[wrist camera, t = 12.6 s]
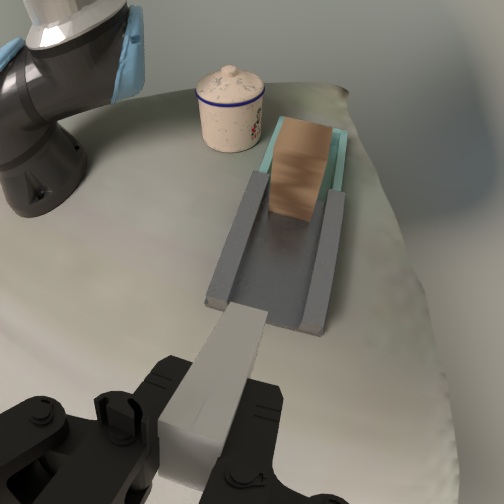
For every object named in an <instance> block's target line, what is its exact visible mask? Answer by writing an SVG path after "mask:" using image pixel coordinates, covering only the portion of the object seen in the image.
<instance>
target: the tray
mask: <svg viewBox="0 0 504 504" xmlns="http://www.w3.org/2000/svg"><path fill="white" fill-rule="evenodd" d="M284 118H285V117H284V116H280V117H279V120H278V122H277V125H276V128H275V130H274V133H273V135H272V138H271V140H270V143H269V146H268V148H267V151H266V153H265V156H264V158H263V161H262V164H261V166H260V169H259V172H262V173H267V174H270V181H269V188H270V184H271V173H272V161H273V149H274V145H275V142H276V139H277V137H278V134H279V131H280V129H281V126H282V123H283V121H284ZM288 118H289V117H288ZM293 119H294V118H293ZM302 121H303V120H302ZM311 123H312V122H311ZM315 124H316V123H315ZM328 127H329V126H328ZM332 128H333V127H332ZM347 134H348V131H344V130H340V129H336V128H333V131H332V137H331V143H330V149H329V155H328V160H327V164H326V167H325V171H324V175H323V178H322V182H321V186H320V189H319V193H318V196H317V200H321V201H325V199H326V196H327V193H328V190H329V188H330V189H333V190H337V191H341V187H342V179H343V171H344V162H345V153H346V144H347Z"/></svg>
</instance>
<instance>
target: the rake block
mask: <svg viewBox="0 0 504 504" xmlns="http://www.w3.org/2000/svg"><path fill="white" fill-rule="evenodd" d="M332 131H333V128H332V127H328V126H324V125H320V124H315V123H311V122H307V121H302V120H298V119H293V118H288V117H285V118H284V121H283V123H282V126H281V129H280V131H279V134H278V137H277V139H276V142H275V145H274V149H273V161H272V173H271V184H270V195H269V206H268V211H270V212H274V213H278V214H282V215H286V216H290V217H294V218H298V219H302V220H306V221H311V217H312V214H313V210H314V207H315V203H316V200H317V196H318V193H319V189H320V186H321V182H322V178H323V175H324V171H325V167H326V164H327V160H328V155H329V149H330V143H331V137H332Z"/></svg>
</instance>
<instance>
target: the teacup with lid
mask: <svg viewBox="0 0 504 504" xmlns="http://www.w3.org/2000/svg"><path fill="white" fill-rule="evenodd" d="M196 87H197V88H196V90H195V93H196V96H197V97H198V102H199V110H200V118H201V126H202V134H203V139H204V141H205V143H206V144H207V145H208V146H209V147H211V148H212V149H214V150H217V151H221V152H227V153H233V152H240V151H244V150H247V149H249V148H251V147H252V146H254V145H255V144H256V143H257V142H258V141H259V139H260V137H261V123H262V99H263V94H264V91H265V86H264V84H263V81H262V80H261V79H260V78H259V77H258V76H257V75H255V74H253V73H251V72H248V71H244V70H237V68H236V67H235V66H233V65H227V66H224V67H223V68H222V70H220V71H216V72H213V73H210V74H208V75H206V76H205V77H203V78H202V79H201V80H200V81H199V82H198V84H197V86H196Z"/></svg>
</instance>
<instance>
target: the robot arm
mask: <svg viewBox="0 0 504 504" xmlns="http://www.w3.org/2000/svg"><path fill="white" fill-rule="evenodd" d="M23 2H24V5H25V7H26V9H27V12H28V14H29V16H30V19H31V21H32V23H33V24H32V27H31V29H30V31H29V34H28V36H27V39H26V41H25V40H23V39H22V38H21V37H19V38H17V39H14V40H12V41H11V42H9V43H8V44H6V45H5V46H3V47H2V48H1V49H0V182H1V185H2V188H3V192H4V195H5V198H6V200H7V202H8V204H9V206H10V207H11V208H12V209H13V210H14V212H15V213H16V214H17V215H19V216H21V217H26V218H30V217H36V216H39V215H42V214H44V213H46V212H48V211H50V210H52V209H53V208H55V207H56V206H58V205H59V204H60V203H62V202H63V201H64V200H65V199H66V198H67V197H68V196H69V195H70V194H71V193H72V192H73V191H74V189H75V188H76V187H77V185H78V184H79V182H80V181H81V179H82V177H83V175H84V173H85V170H86V166H87V157H86V154H85V152H84V150H83V148H82V146H81V144H80V143H79V141H78V140H77V139H75V138H74V137H73V136H72V135H71V134H70V133H69V132H68V131H67V130H65V129H64V128H63V127H62V126H61V125H60V124H59V123H58V122H57V121H58V120H61V119H64V118H67V117H70V116H73V115H76V114H79V113H82V112H85V111H88V110H91V109H94V108H98V107H101V106H104V105H108V104H111V105H112V104H114V103H115V102H116V101H119V100H122V99H125V98H128V97H132V96H134V95H136V94H138V93H139V92H140V91H141V90H142V88H143V86H144V82H145V63H144V62H145V61H144V23H143V9H142V7H141V6H134V5H131V6H130V7H129V8H128V7H127V2H126V0H23ZM25 44H26V45H27V46H26V45H25ZM267 314H268V312H267V311H263V310H260V309H256V308H252V307H248V306H245V305H241V304H237V303H234V302H230V304H229V305H228V307H227V308H226V310H225V312H224V313H223V315H222V317H221V318H220V320H219V322H218V323H217V325H216V326H215V328H214V330H213V331H212V333H211V335H210V336H209V338H208V339H207V341H206V343H205V344H204V346H203V348H202V349H201V351H200V352H199V354H198V356H197V357H196V359H195V361H194V362H190V361H187V360H184V359H181V358H178V357H175V356H172V355H170V356H168V357H166V358H164V359H162V360H160V361H158V363H157V364H156V365H155V366H154V368H153V369H152V370H151V372H150V373H149V374H148V375H147V377H146V378H145V379H144V382H142V383H141V384H140V386H139V387H138V388H137V389H136V391H135V392H134V393H133V394H130V393H127V392H123V391H110V392H106V393H103V394H100V395H99V396H98V397H96V398H95V399H94V404H95V410H96V415H97V420H88V419H84V418H79V417H75V416H71V415H67V414H66V413H65V410H64V408H63V407H62V405H61V404H60V403H59V402H58V401H56V400H55V399H53V398H50V397H46V396H35V397H32V398H29V399H27V400H25V401H23V402H21V403H19V404H17V405H16V406H14V407H12V408H10V409H8V410H7V411H5V412H3V413H1V414H0V504H144V503H145V501H146V499H147V498H148V496H149V494H150V492H151V488H152V479H153V478H154V476H155V474H156V472H157V470H158V474H159V476H160V477H163V478H165V479H168V480H171V481H173V482H176V483H179V484H182V485H184V486H187V487H190V488H193V489H196V490H199V491H203V494H202V496H201V499H200V502H199V504H349V503H348V502H346V501H345V500H344V499H343V498H340V497H338V496H335V495H333V494H318V495H314V496H311V497H306V496H304V495H302V494H300V493H297V492H295V491H293V490H291V489H289V488H288V487H286V486H284V485H283V484H282V483H281V482H280V481H279V480H278V479H277V477H276V475H275V474H274V471H273V468H272V460H273V455H274V450H275V444H276V439H277V433H278V428H279V422H280V416H281V411H282V405H283V399H284V398H283V396H282V393H281V391H280V388H279V386H276V385H272V384H268V383H264V382H260V381H256V380H253V379H250V376H251V373H252V370H253V367H254V363H255V360H256V356H257V352H258V348H259V345H260V341H261V337H262V333H263V330H264V326H265V322H266V318H267Z"/></svg>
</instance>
